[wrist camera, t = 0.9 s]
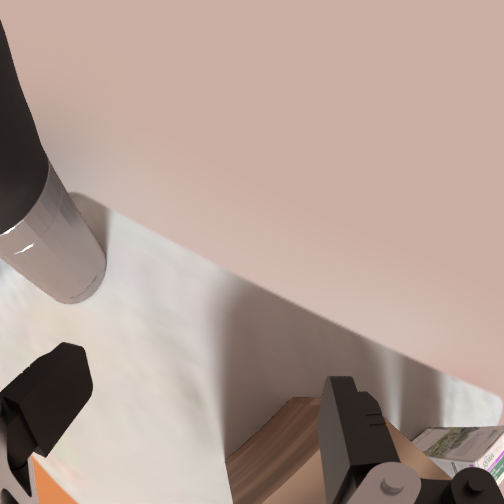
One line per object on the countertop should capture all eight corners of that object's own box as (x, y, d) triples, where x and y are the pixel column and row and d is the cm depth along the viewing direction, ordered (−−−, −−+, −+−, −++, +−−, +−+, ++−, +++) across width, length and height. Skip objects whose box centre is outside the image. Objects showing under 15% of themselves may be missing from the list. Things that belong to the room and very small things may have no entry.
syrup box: (409, 481, 28) (487, 501, 14) (396, 449, 30) (477, 462, 16) (440, 456, 29) (519, 463, 16) (428, 424, 31) (511, 422, 18)
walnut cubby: (224, 460, 28) (237, 522, 12) (293, 396, 32) (363, 398, 16) (331, 538, 24) (402, 603, 8) (389, 479, 28) (486, 507, 12)
